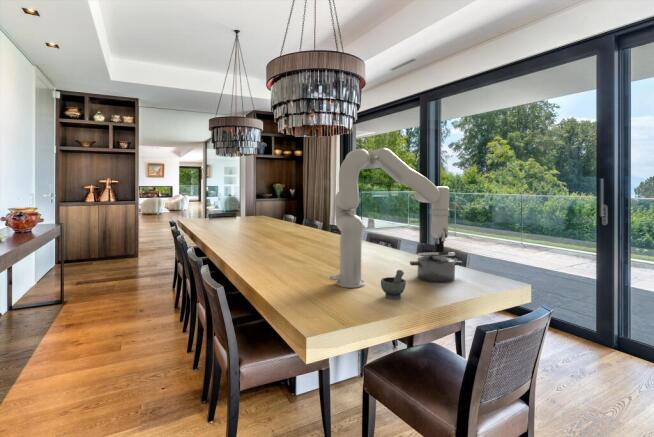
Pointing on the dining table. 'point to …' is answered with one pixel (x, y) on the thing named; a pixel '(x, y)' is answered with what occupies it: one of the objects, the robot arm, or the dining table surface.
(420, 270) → the pot
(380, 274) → the dining table surface
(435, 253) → the pot lid
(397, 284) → the mortar and pestle
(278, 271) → the dining table surface
